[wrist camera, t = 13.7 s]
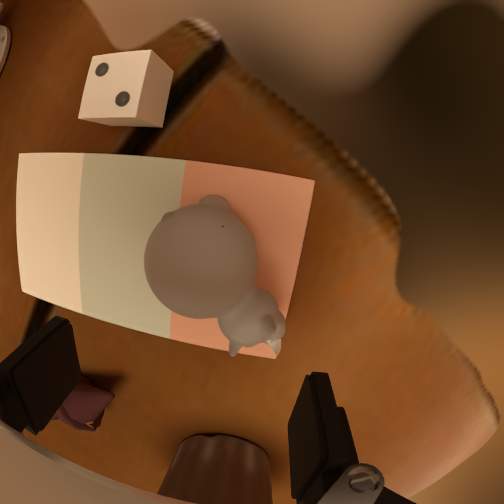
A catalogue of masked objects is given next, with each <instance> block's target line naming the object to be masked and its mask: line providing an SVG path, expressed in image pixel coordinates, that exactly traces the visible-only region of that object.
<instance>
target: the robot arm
mask: <svg viewBox="0 0 504 504" xmlns="http://www.w3.org/2000/svg"><path fill="white" fill-rule="evenodd" d="M3 7H4V4H3V3H0V13H1V11H2V9H3ZM10 41H11V34H10V30H9V28H7V27H5V26H2V25H0V73H1V71H2V68H3V66H4V63H5V61H6V58H7V55H8V51H9V47H10ZM80 379H81V370H80V365H79V361H78V356H77V351H76V345H75V340H74V334H73V328H72V325H71V324H70V322H69V320H68V319H65V318H62V317H60V316H54V317H53V318H52V319H51V320H49V321H48V322H47V323H46V324H45V325H43V326H42V327H41V328H40V329H39V330H37V331H36V332H35V333H34V334H33V335H32V336H30V337H29V338H28V339H27V340H26V341H25V342H23V343H22V344H21V345H20V346H19V347H18V348H17V349H16V350H14V351H13V352H12V353H11V354H10V355H9V356H8V357H7V358H6V359H4V360H3V361H2V362H1V363H0V504H196V503H191V502H186V501H182V500H177V499H173V498H169V497H165V496H162V495H158V494H154V493H151V492H148V491H144V490H141V489H138V488H135V487H132V486H129V485H126V484H123V483H120V482H118V481H115V480H112V479H110V478H107V477H104V476H102V475H100V474H97V473H95V472H92V471H90V470H88V469H86V468H83V467H81V466H79V465H77V464H75V463H73V462H71V461H69V460H67V459H65V458H63V457H61V456H59V455H57V454H55V453H53V452H51V451H49V450H48V449H46V448H44V447H42V446H41V445H39V444H37V443H35V442H34V441H32V440H30V439H29V438H27V437H26V436H24V434H23V430H24V429H25V428H26V429H27V430H28V431H29V432H31V433H33V434H34V435H37V434H38V432H39V431H42V430H43V429H44V428H45V427H46V425H47V424H48V423H49V421H50V420H51V418H52V417H53V416H54V414H55V413H56V411H57V410H58V409H59V407H60V406H61V405H62V403H63V402H64V401H65V399H66V398H67V397H68V395H69V394H70V393H71V391H72V390H73V389H74V387H75V386H76V385H77V383H78V382H79V381H80ZM288 441H289V458H290V477H291V496H292V498H293V499H296V501H297V504H416V503H414V502H412V501H410V500H408V499H406V498H404V497H402V496H401V495H399V494H397V493H395V492H393V491H391V490H389V489H388V488H386V487H384V484H385V483H384V476H383V474H382V472H381V471H380V470H379V469H378V468H376V467H375V466H373V465H370V464H368V463H359V461H358V457H357V453H356V449H355V445H354V442H353V438H352V434H351V430H350V427H349V423H348V419H347V416H346V412H345V410H344V408H343V407H337V405H336V401H335V398H334V394H333V390H332V386H331V382H330V379H329V375H328V373H323V372H312V373H311V375H306V377H305V379H304V382H303V385H302V387H301V390H300V393H299V396H298V398H297V401H296V404H295V406H294V409H293V411H292V414H291V416H290V419H289V422H288Z"/></svg>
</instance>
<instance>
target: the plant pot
mask: <svg viewBox="0 0 504 504" xmlns="http://www.w3.org/2000/svg"><path fill="white" fill-rule="evenodd" d="M157 494H158V495H162V496H165V497H169V498H173V499H177V500H182V501H186V502H191V503H196V504H273V503H272V489H271V476H270V462H269V459H268V457H267V454H266V453H265V452H264V451H263V450H262V449H261V448H260V447H258V446H256V445H254V444H252V443H250V442H248V441H245V440H242V439H239V438H236V437H231V436H226V435H216V436H213V437H207V436H204V435H196V436H193V437H190V438H187V439H186V440H184V441H183V442H182V443H181V444H180V445H179V447H178V449H177V452H176V454H175V456H174V458H173V461H172V463H171V465H170V467H169V469H168V471H167V474H166V476H165V478H164V480H163V482H162V485H161V487H160V489H159V491H158V493H157Z"/></svg>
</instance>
